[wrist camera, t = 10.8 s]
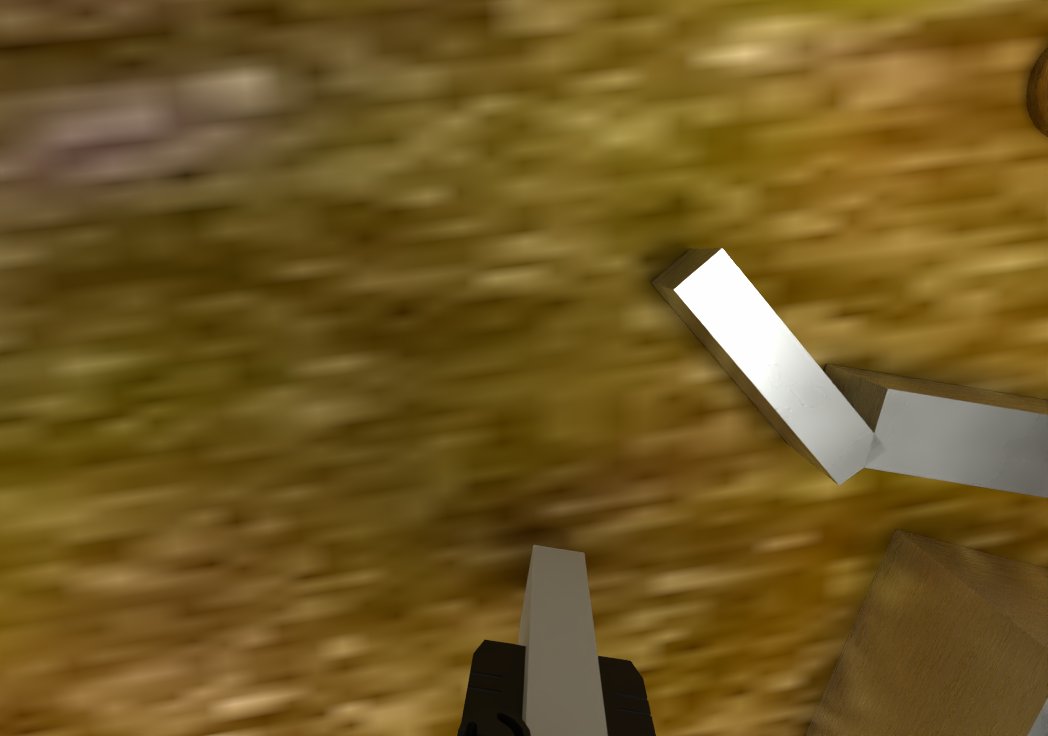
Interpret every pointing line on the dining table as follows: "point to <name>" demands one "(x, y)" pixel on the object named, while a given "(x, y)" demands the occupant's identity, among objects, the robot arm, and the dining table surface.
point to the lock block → (943, 648)
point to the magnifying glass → (1039, 94)
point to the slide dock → (856, 395)
